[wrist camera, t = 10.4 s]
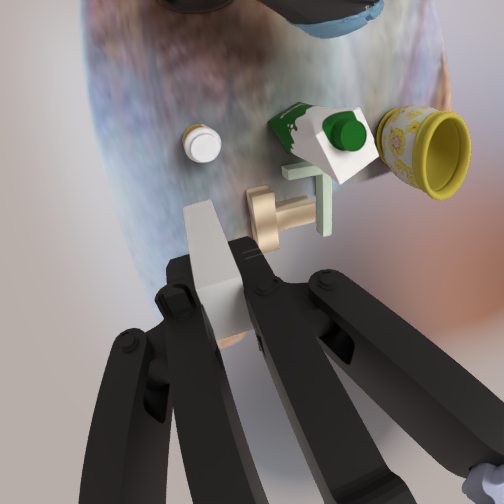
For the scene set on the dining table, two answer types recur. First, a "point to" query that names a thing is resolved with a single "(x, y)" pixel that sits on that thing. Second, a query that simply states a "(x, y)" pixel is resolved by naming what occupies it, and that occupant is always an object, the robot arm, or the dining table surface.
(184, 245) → the dining table surface
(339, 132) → the milk carton
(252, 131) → the dining table surface
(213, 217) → the robot arm
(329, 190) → the corner stop
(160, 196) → the dining table surface
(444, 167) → the flowerpot
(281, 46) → the dining table surface
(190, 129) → the supplement bottle
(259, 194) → the t block
